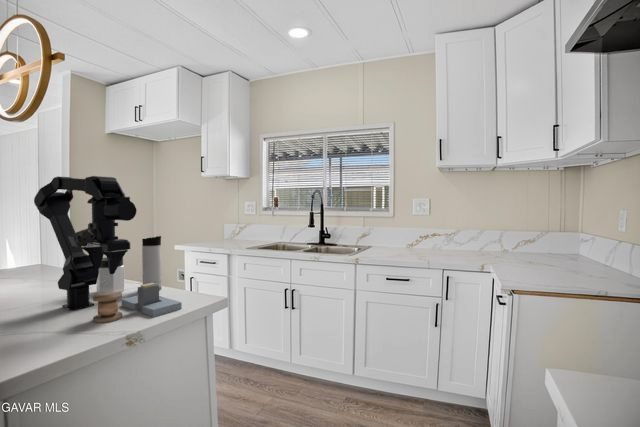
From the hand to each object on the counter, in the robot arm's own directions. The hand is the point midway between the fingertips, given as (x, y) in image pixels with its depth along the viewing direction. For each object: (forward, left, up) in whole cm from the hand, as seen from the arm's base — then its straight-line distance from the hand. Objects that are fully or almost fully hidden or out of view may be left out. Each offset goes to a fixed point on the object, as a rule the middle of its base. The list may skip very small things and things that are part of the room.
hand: (104, 271), depth 101 cm
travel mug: (-12, +22, -12) cm, 28 cm away
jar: (-22, +12, -12) cm, 28 cm away
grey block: (+8, +9, -12) cm, 17 cm away
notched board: (+7, +10, -12) cm, 17 cm away
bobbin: (+7, -2, -12) cm, 14 cm away
